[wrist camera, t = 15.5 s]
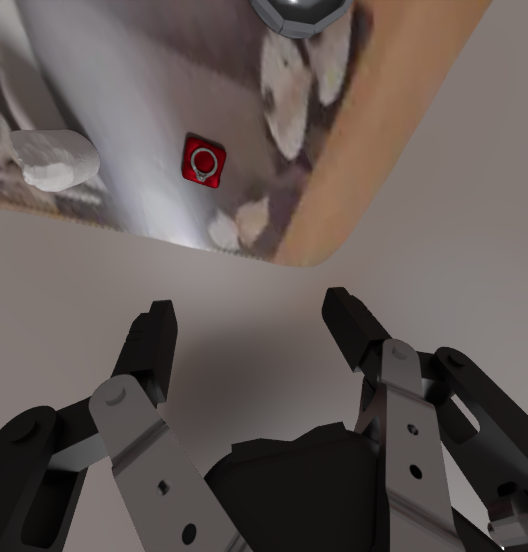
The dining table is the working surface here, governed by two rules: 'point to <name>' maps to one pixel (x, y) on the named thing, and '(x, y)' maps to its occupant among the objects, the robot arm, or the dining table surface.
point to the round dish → (299, 15)
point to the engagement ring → (203, 162)
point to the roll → (54, 158)
